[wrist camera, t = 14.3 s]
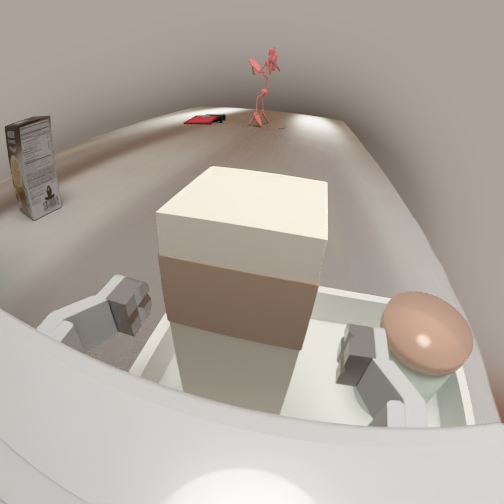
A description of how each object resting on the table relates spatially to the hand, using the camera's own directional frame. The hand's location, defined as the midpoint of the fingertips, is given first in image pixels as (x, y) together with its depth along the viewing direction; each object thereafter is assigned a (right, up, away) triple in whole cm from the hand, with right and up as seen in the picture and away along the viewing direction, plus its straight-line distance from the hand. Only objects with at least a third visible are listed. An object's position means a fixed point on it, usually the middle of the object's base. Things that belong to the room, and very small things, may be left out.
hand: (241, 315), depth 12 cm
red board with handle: (-19, +62, +115) cm, 132 cm away
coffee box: (-37, +10, +31) cm, 49 cm away
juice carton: (0, -7, +6) cm, 10 cm away
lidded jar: (+11, -8, +7) cm, 15 cm away
